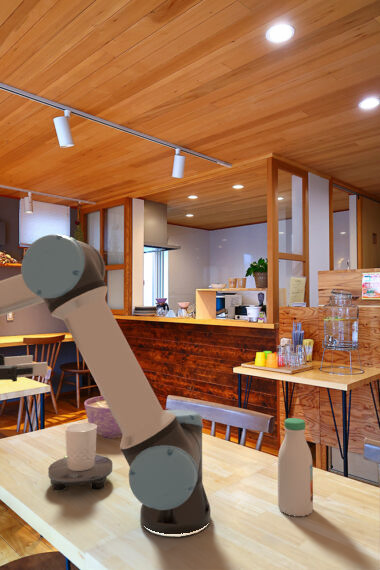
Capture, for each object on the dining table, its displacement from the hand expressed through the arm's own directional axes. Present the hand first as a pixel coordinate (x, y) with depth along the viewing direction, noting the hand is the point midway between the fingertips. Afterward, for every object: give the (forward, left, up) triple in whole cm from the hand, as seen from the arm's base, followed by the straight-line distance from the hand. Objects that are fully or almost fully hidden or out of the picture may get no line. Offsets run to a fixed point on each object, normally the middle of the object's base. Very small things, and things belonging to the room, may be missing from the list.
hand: (39, 364), depth 104 cm
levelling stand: (+4, -12, -32) cm, 34 cm away
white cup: (+3, -12, -28) cm, 30 cm away
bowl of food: (+37, -35, -32) cm, 60 cm away
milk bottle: (-36, -48, -32) cm, 68 cm away
